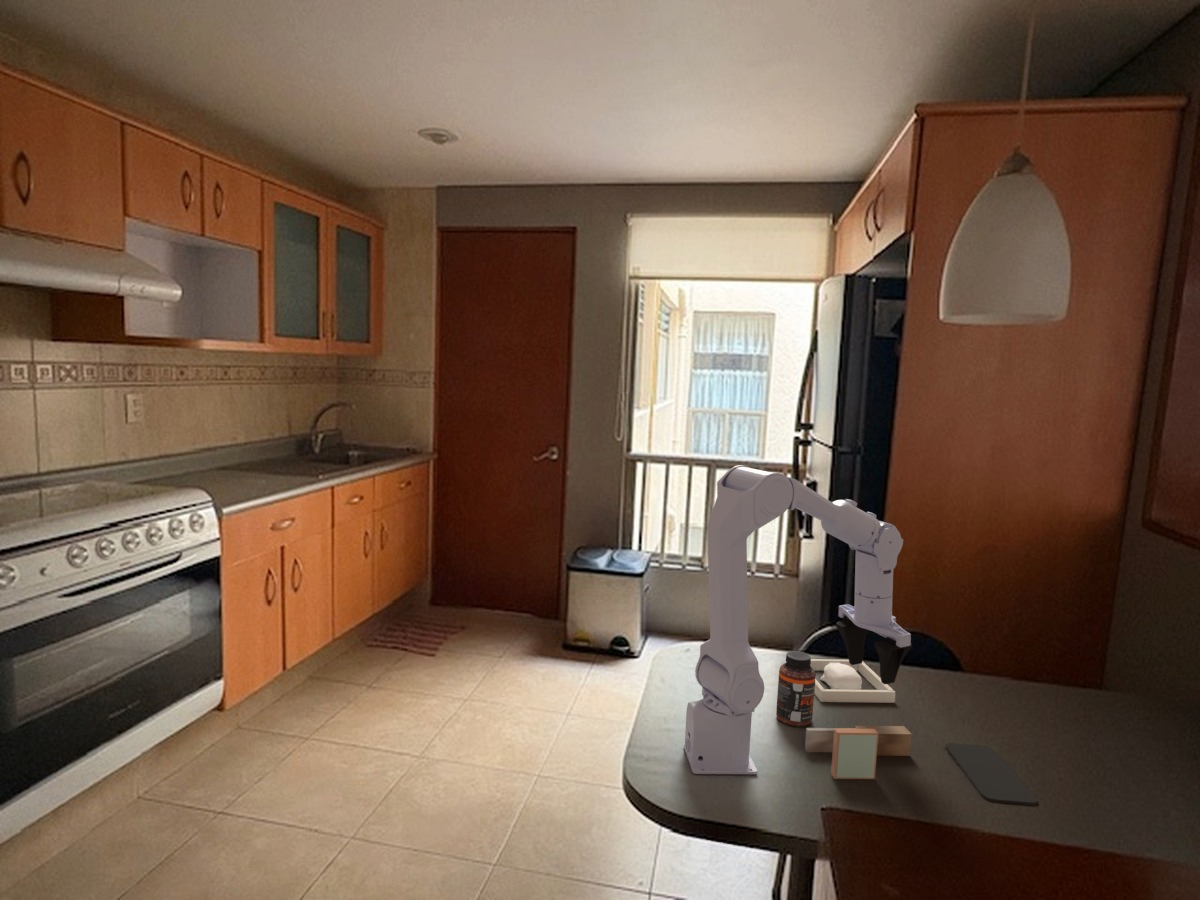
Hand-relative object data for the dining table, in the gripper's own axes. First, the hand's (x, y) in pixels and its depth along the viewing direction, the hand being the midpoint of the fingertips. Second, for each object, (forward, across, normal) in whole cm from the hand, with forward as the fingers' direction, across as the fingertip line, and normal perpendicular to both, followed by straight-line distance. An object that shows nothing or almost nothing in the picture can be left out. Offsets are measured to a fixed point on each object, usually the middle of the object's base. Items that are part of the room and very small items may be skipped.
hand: (871, 672), depth 114 cm
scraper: (+9, -5, +7) cm, 13 cm away
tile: (+9, -11, +12) cm, 19 cm away
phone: (+11, -16, -8) cm, 21 cm away
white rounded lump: (+11, +16, -7) cm, 20 cm away
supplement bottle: (+9, +6, +11) cm, 15 cm away
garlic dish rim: (+10, +16, -7) cm, 20 cm away
